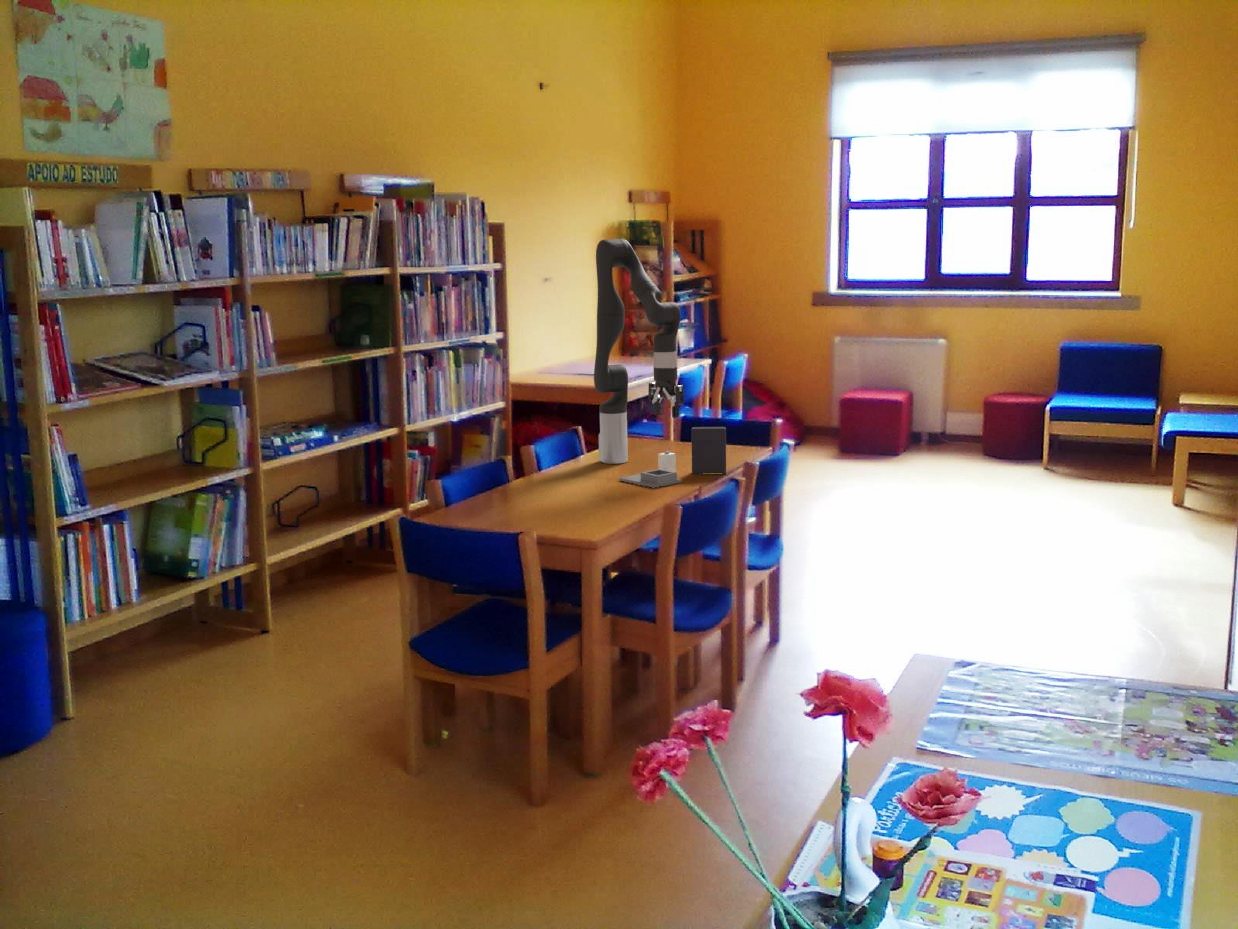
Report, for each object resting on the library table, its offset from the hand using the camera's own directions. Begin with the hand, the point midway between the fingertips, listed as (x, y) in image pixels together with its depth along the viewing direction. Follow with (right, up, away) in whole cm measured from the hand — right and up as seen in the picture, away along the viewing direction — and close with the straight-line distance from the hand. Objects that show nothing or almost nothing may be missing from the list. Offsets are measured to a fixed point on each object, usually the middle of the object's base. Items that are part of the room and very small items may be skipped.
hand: (666, 416), depth 383 cm
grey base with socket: (-5, -21, -6) cm, 22 cm away
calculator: (+14, -18, +5) cm, 24 cm away
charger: (0, -19, +4) cm, 19 cm away
